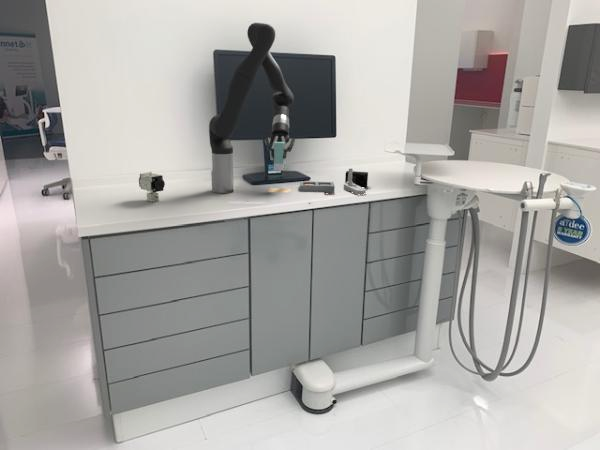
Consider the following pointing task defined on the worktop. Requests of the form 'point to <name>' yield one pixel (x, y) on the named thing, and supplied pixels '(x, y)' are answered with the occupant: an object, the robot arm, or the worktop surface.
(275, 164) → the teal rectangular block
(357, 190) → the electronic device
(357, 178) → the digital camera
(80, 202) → the worktop surface
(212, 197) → the worktop surface
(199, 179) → the worktop surface
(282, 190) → the deck
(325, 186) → the port block
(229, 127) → the robot arm
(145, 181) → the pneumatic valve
